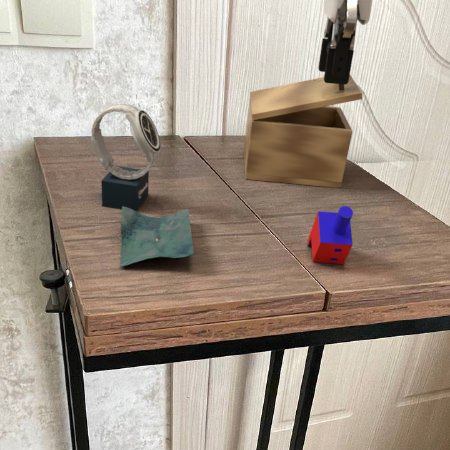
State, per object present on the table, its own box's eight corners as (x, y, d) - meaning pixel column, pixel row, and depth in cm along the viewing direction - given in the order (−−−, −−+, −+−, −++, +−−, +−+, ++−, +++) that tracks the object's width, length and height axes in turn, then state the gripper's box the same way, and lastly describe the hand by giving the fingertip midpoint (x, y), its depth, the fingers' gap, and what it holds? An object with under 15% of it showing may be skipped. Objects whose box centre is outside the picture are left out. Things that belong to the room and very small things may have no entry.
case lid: (349, 78, 90) (346, 32, 87) (362, 99, 81) (360, 49, 78) (250, 97, 92) (243, 54, 88) (252, 120, 83) (245, 73, 79)
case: (330, 160, 98) (340, 107, 93) (340, 188, 89) (352, 131, 84) (243, 152, 97) (249, 98, 92) (245, 179, 88) (251, 121, 83)
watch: (152, 213, 76) (154, 118, 69) (88, 203, 77) (83, 108, 70) (163, 197, 80) (166, 105, 73) (102, 187, 81) (99, 96, 74)
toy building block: (309, 270, 72) (326, 225, 64) (307, 240, 73) (324, 193, 66) (339, 272, 72) (360, 228, 65) (337, 242, 74) (357, 195, 66)
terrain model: (193, 270, 66) (194, 253, 64) (118, 270, 65) (117, 253, 64) (188, 219, 75) (188, 204, 74) (122, 219, 75) (122, 204, 73)
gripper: (406, -87, 67) (370, 95, 78) (377, -89, 81) (350, 66, 92) (336, -93, 67) (310, 90, 78) (319, -95, 80) (299, 62, 92)
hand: (332, 76), depth 85 cm, fingers closed on case lid, 6 cm apart
